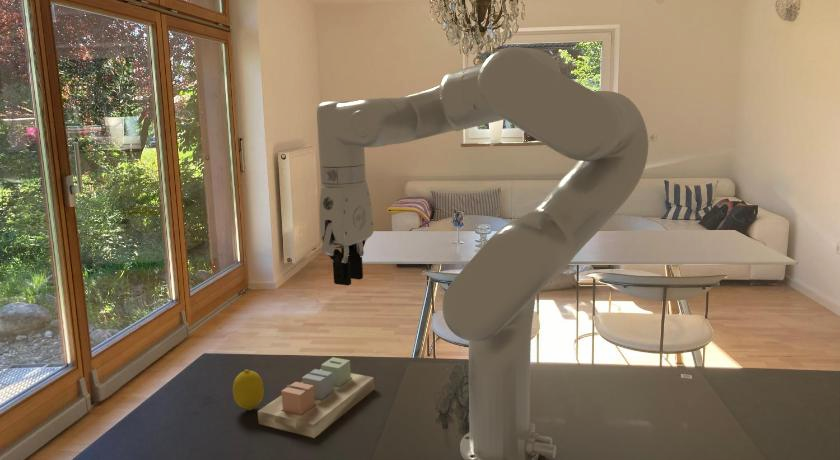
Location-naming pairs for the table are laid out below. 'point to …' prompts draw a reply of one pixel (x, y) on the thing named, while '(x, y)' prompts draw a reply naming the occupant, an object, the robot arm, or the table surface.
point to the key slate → (320, 383)
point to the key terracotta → (298, 398)
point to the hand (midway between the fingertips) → (348, 280)
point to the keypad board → (317, 408)
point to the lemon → (248, 389)
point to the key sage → (338, 370)
